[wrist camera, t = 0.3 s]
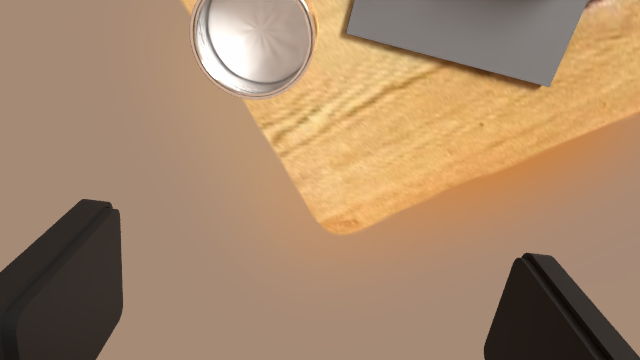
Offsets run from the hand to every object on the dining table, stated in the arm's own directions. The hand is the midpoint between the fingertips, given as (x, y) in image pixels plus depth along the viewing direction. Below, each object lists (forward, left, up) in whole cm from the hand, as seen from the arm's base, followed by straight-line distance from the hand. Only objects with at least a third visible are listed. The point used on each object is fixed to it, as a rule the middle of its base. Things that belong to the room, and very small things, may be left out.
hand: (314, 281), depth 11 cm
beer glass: (-3, -4, -31) cm, 32 cm away
